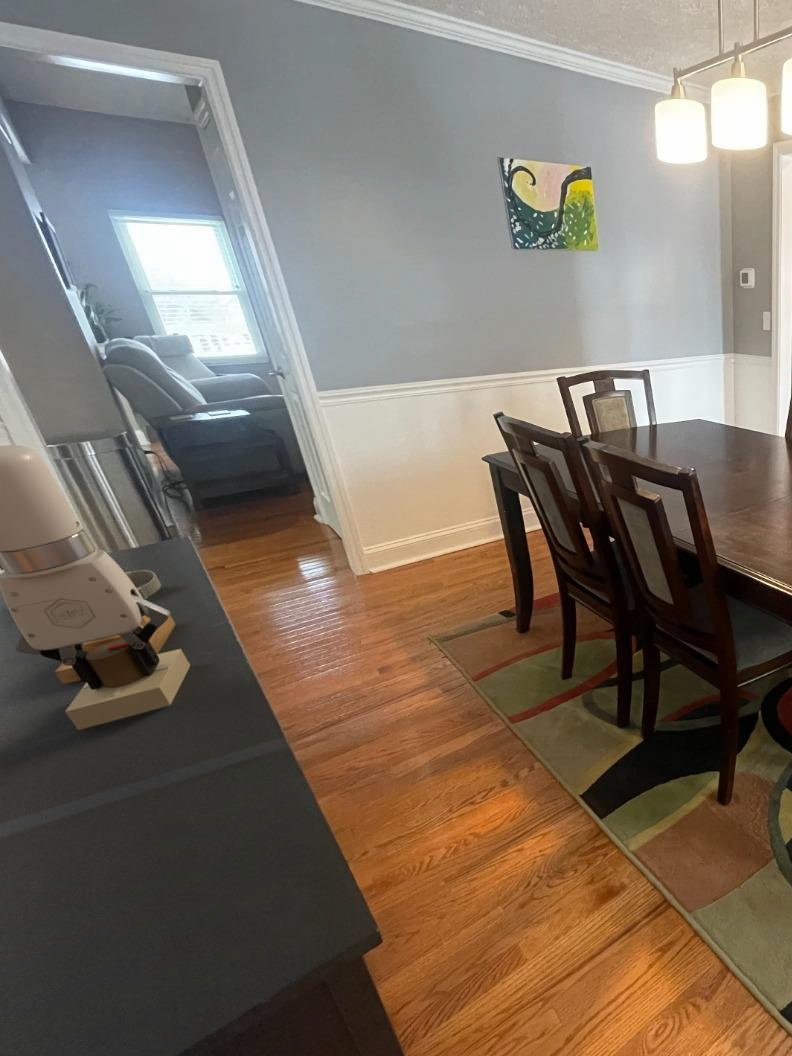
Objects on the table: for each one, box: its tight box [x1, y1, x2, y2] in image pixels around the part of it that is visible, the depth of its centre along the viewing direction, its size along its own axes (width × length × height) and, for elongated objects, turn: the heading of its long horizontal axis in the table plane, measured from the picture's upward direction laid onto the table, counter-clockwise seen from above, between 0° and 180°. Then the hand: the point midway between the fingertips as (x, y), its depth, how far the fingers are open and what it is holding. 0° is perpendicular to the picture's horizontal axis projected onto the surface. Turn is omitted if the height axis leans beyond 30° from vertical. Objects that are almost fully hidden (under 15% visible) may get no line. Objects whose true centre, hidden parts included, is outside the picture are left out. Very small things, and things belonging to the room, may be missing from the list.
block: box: [54, 615, 177, 685], centre depth 88 cm, size 10×12×4 cm
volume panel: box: [64, 648, 191, 731], centre depth 79 cm, size 9×10×3 cm
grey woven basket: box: [124, 569, 162, 601], centre depth 103 cm, size 9×6×5 cm
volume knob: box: [85, 640, 144, 688], centre depth 77 cm, size 4×4×5 cm
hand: (125, 675), depth 78 cm, fingers closed on volume knob, volume panel, 4 cm apart
